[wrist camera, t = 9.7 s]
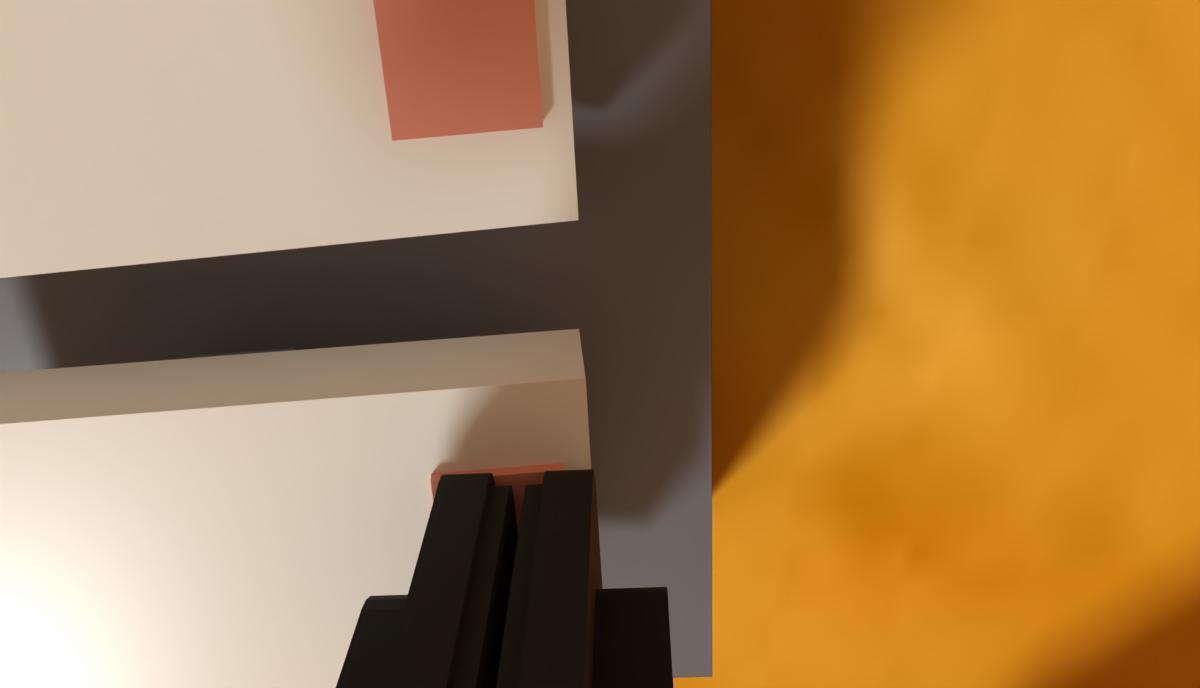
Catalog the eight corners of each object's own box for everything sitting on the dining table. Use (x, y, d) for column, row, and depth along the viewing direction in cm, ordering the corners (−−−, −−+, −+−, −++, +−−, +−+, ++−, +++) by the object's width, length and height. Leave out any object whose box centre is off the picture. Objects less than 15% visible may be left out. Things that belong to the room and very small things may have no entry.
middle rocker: (-365, -234, 10) (-565, -246, 8) (522, -273, 11) (550, -294, 9) (-186, 229, 12) (-308, 314, 10) (552, 160, 13) (580, 224, 11)
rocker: (-109, 348, 13) (-225, 448, 11) (574, 297, 13) (587, 385, 11) (1, 639, 15) (-79, 770, 13) (592, 588, 15) (605, 708, 13)
